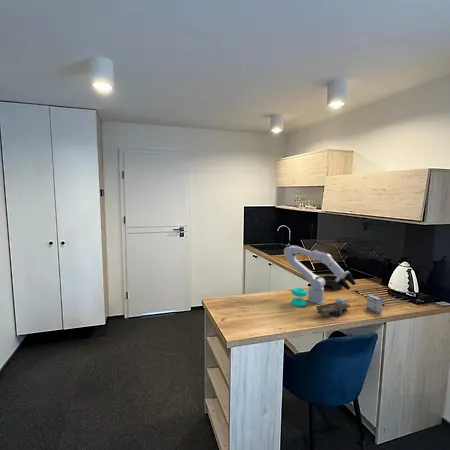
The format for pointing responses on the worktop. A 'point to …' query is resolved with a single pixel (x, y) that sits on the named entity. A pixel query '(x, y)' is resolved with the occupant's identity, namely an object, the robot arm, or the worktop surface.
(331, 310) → the beam
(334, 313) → the pivot stand
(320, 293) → the robot arm
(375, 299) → the medicine box
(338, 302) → the block
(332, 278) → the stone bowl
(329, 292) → the worktop surface
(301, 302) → the donuts
